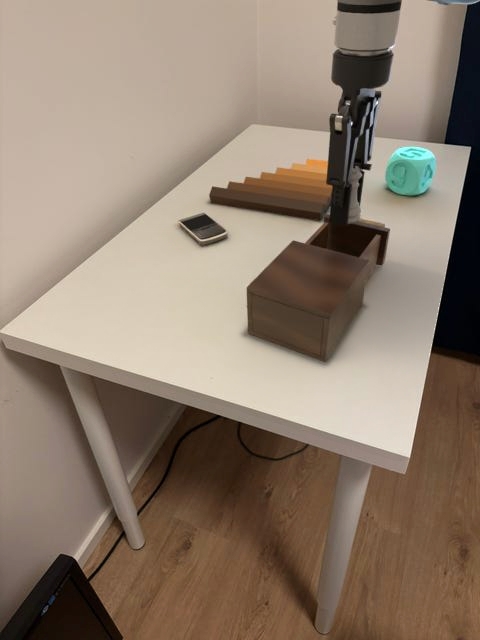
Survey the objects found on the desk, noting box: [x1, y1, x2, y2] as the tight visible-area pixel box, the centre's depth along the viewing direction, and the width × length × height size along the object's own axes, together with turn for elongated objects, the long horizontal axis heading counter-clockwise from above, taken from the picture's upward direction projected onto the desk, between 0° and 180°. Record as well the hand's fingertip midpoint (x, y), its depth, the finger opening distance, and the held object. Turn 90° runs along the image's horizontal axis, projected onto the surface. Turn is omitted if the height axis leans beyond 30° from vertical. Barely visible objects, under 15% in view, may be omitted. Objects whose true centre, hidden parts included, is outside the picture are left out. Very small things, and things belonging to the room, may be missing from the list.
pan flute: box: [208, 158, 332, 222], centre depth 110 cm, size 25×3×25 cm
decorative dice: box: [384, 146, 437, 196], centre depth 107 cm, size 8×8×8 cm
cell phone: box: [177, 212, 229, 246], centre depth 97 cm, size 6×11×1 cm, turn 32°
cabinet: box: [246, 239, 369, 363], centre depth 73 cm, size 15×13×9 cm
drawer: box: [304, 213, 391, 282], centre depth 82 cm, size 18×11×7 cm, turn 149°
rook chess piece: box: [348, 166, 362, 224], centre depth 73 cm, size 4×4×8 cm
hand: (344, 216), depth 76 cm, fingers closed on rook chess piece, 4 cm apart
